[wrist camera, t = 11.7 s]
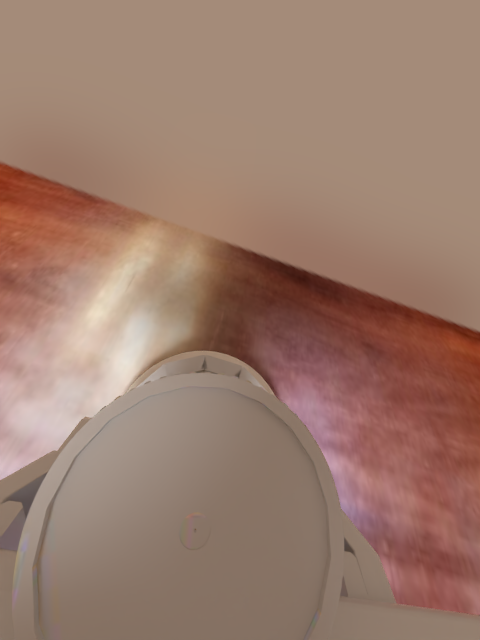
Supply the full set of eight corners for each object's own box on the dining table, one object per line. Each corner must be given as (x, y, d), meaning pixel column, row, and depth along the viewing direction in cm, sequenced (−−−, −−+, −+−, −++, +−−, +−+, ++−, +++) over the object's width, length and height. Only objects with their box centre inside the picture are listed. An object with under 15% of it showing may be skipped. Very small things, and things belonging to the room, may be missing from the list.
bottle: (184, 373, 20) (150, 299, 6) (260, 419, 20) (404, 450, 6) (128, 461, 18) (-139, 666, 4) (214, 514, 17) (273, 950, 3)
